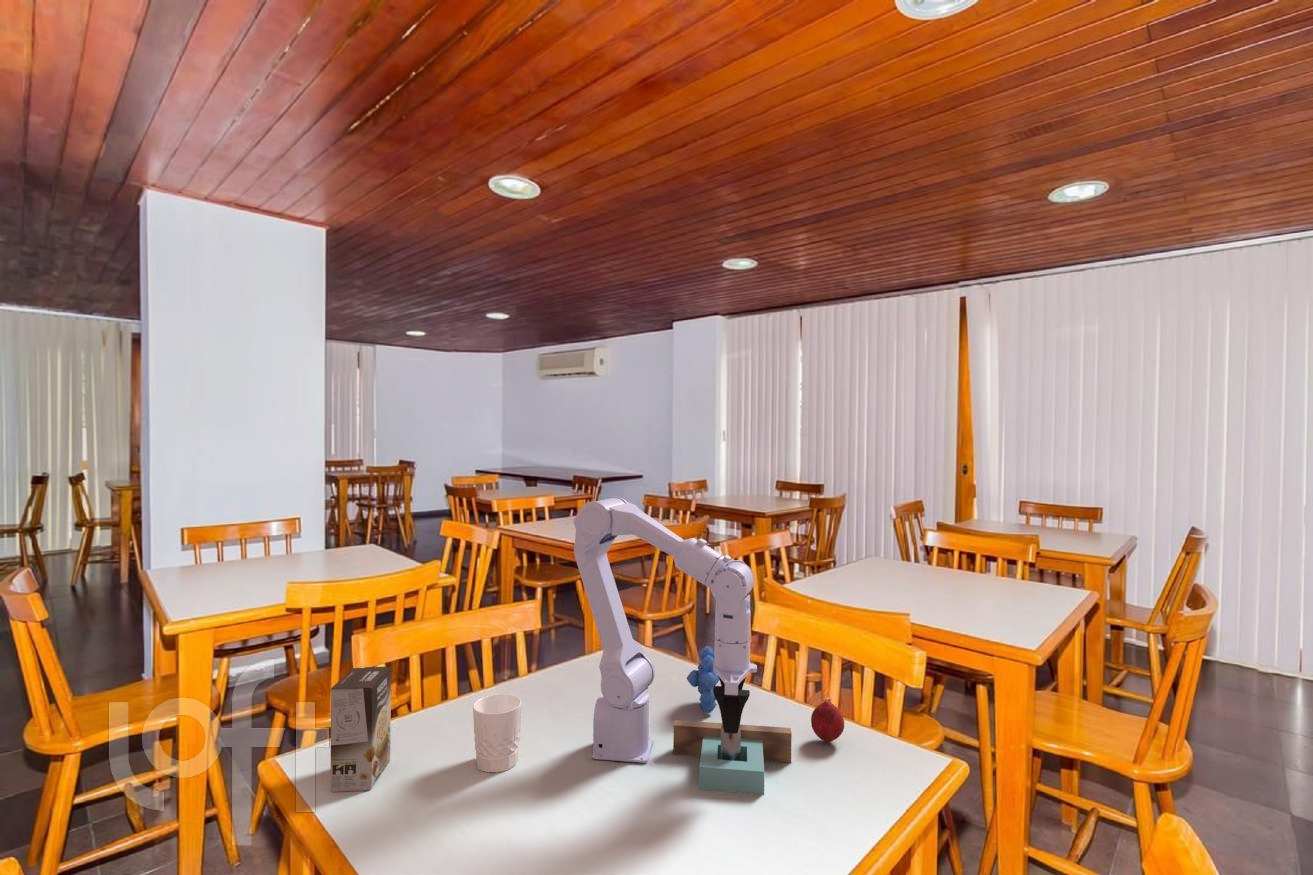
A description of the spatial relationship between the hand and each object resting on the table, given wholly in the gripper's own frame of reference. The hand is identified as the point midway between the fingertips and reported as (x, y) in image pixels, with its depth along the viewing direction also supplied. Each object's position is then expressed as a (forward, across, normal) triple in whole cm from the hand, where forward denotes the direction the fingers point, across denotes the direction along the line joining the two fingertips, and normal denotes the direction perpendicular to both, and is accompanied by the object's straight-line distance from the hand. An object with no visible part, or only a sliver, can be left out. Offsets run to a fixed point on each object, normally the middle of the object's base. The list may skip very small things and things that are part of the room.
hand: (731, 720), depth 104 cm
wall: (+9, +6, 0) cm, 11 cm away
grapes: (+9, +24, +6) cm, 26 cm away
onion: (+9, +13, -17) cm, 23 cm away
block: (+9, 0, 0) cm, 9 cm away
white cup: (+9, -2, +39) cm, 40 cm away
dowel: (+8, 0, 0) cm, 8 cm away
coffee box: (+9, -9, +59) cm, 60 cm away
